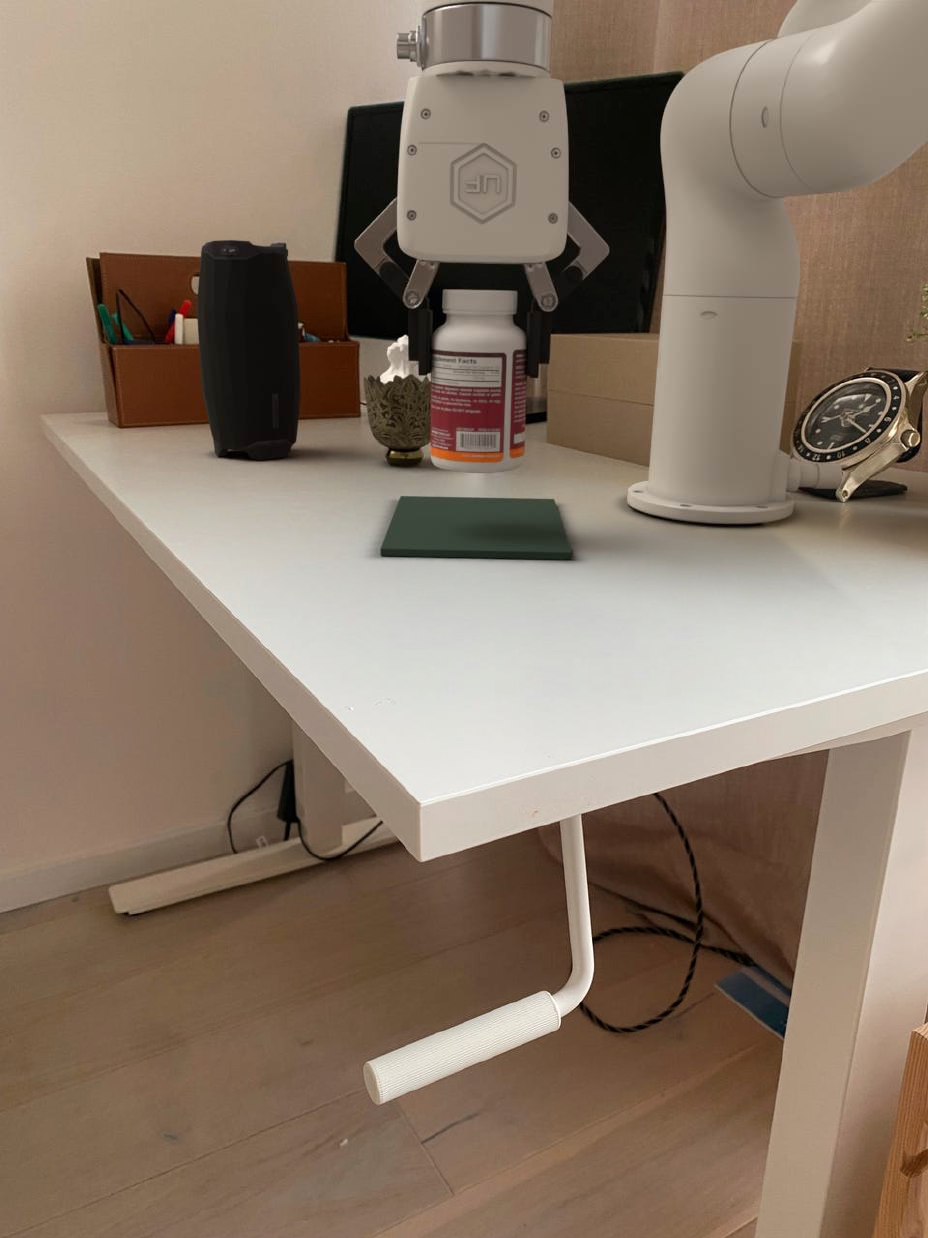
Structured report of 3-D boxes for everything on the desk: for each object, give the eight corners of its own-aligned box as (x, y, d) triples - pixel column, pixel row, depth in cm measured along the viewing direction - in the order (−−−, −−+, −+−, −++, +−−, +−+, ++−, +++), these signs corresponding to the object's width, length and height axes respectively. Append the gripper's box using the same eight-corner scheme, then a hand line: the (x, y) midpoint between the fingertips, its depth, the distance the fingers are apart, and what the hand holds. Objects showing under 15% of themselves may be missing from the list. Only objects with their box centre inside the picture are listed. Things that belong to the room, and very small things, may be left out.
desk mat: (554, 505, 77) (554, 498, 76) (571, 559, 62) (571, 552, 61) (400, 502, 77) (400, 495, 77) (380, 555, 62) (380, 548, 61)
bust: (402, 447, 115) (462, 370, 114) (350, 407, 113) (410, 327, 111) (394, 432, 127) (448, 361, 125) (347, 396, 124) (401, 323, 122)
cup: (425, 455, 98) (425, 372, 95) (456, 467, 91) (457, 379, 89) (353, 459, 94) (352, 374, 92) (381, 472, 88) (380, 381, 86)
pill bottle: (482, 455, 69) (486, 289, 65) (543, 468, 64) (551, 291, 61) (410, 463, 65) (411, 288, 61) (470, 478, 61) (474, 289, 57)
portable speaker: (203, 448, 99) (189, 241, 93) (296, 445, 102) (288, 244, 96) (210, 462, 92) (195, 238, 85) (310, 459, 94) (302, 241, 88)
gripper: (328, 39, 54) (335, 377, 59) (645, 45, 53) (621, 383, 59) (346, 67, 61) (351, 367, 66) (626, 73, 60) (606, 373, 66)
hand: (478, 372), depth 63 cm, fingers closed on pill bottle, 6 cm apart
